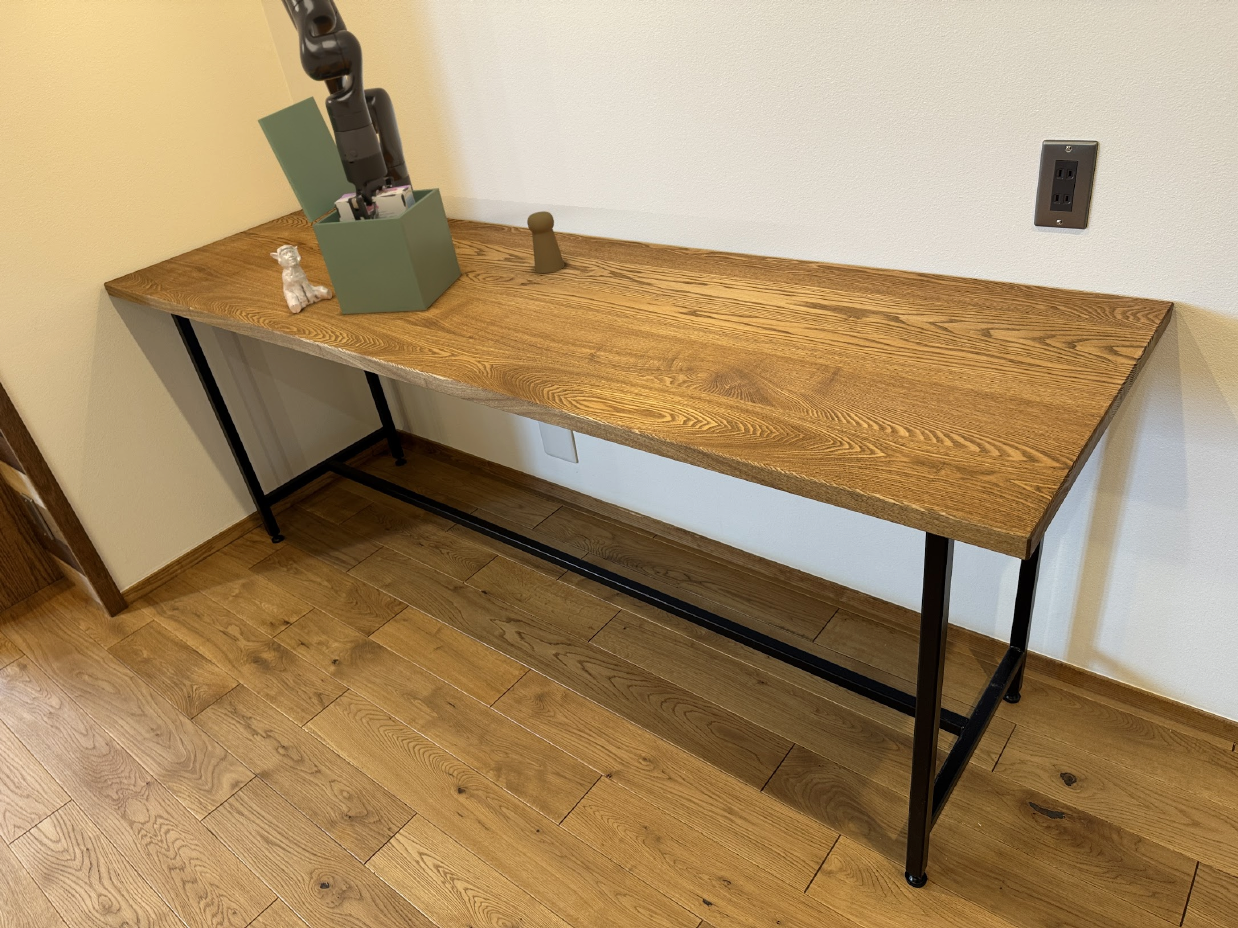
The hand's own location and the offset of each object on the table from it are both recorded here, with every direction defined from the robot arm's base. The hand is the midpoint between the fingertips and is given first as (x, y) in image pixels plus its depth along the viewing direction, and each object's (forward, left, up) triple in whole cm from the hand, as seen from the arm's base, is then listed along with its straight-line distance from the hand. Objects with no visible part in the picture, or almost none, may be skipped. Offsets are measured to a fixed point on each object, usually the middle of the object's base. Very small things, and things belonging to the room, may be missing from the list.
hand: (386, 240), depth 172 cm
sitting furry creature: (+2, -22, -11) cm, 25 cm away
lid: (0, -10, +17) cm, 19 cm away
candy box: (0, 0, -7) cm, 7 cm away
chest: (0, 0, -11) cm, 11 cm away
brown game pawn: (-10, +28, -11) cm, 32 cm away
